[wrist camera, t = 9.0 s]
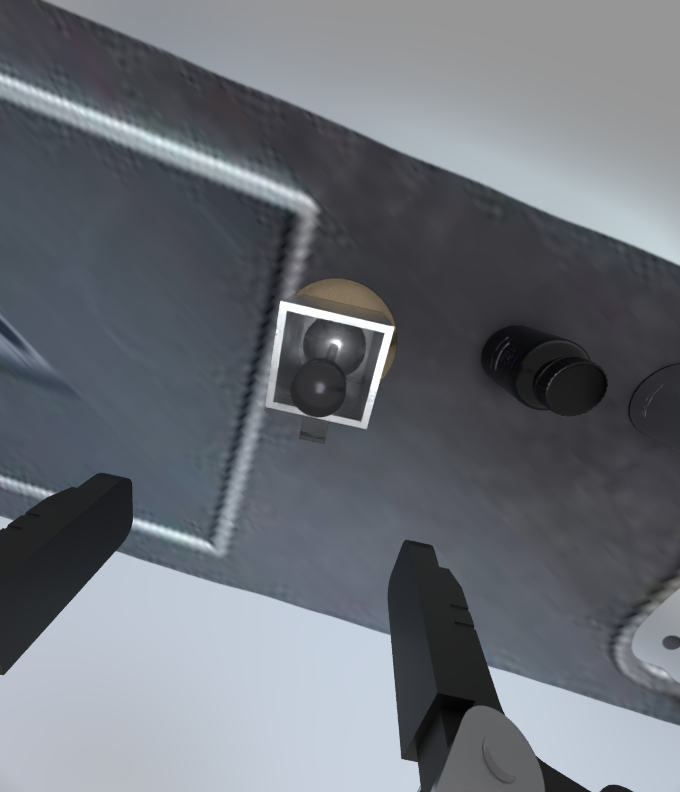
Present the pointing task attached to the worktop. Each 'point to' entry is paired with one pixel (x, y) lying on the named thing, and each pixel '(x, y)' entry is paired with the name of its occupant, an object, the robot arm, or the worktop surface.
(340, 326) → the plunger
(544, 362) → the supplement bottle
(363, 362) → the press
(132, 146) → the worktop surface
